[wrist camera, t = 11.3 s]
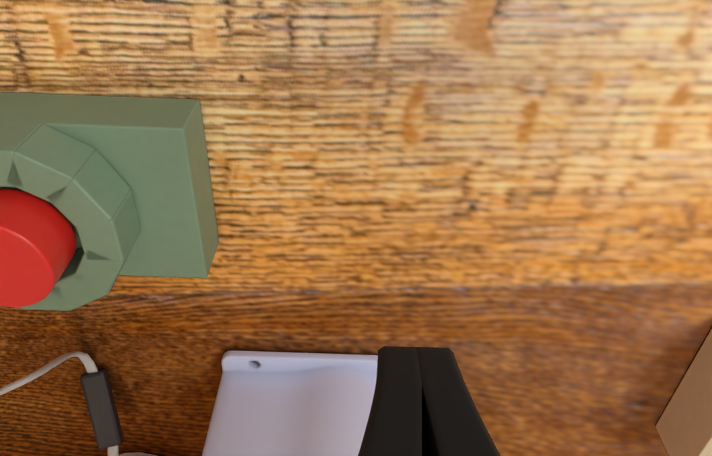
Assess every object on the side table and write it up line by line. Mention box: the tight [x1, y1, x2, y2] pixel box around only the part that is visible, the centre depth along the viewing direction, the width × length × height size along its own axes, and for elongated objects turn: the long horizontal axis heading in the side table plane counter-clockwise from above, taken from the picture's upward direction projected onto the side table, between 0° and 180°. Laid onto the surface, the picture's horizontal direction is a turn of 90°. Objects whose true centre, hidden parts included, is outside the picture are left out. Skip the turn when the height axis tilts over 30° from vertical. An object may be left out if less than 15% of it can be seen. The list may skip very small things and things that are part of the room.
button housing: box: [0, 92, 219, 311], centre depth 19 cm, size 10×6×4 cm, turn 88°
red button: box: [0, 189, 76, 307], centre depth 17 cm, size 3×3×2 cm
